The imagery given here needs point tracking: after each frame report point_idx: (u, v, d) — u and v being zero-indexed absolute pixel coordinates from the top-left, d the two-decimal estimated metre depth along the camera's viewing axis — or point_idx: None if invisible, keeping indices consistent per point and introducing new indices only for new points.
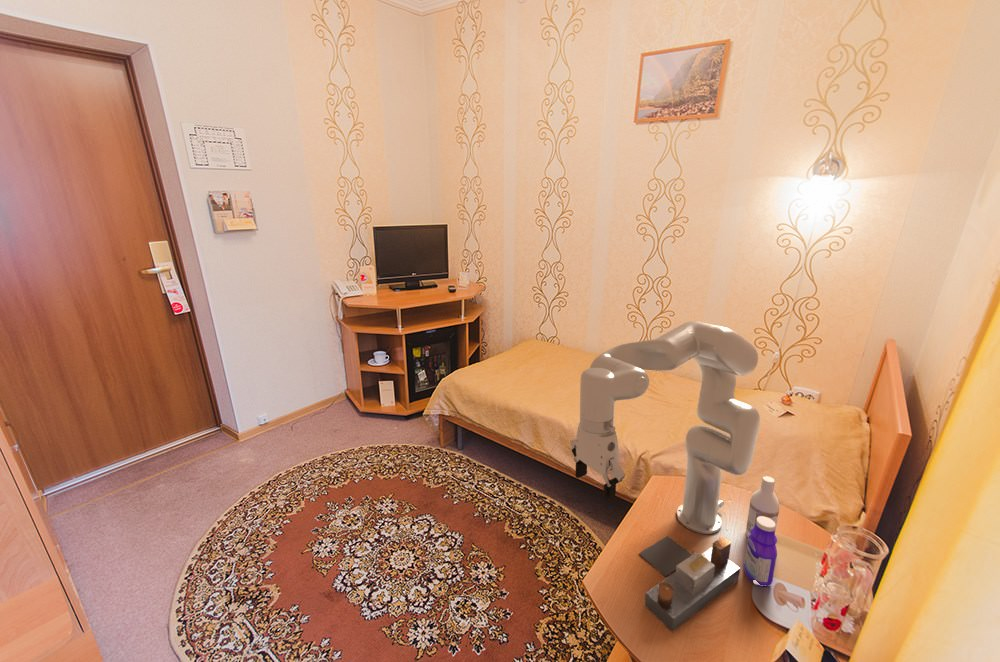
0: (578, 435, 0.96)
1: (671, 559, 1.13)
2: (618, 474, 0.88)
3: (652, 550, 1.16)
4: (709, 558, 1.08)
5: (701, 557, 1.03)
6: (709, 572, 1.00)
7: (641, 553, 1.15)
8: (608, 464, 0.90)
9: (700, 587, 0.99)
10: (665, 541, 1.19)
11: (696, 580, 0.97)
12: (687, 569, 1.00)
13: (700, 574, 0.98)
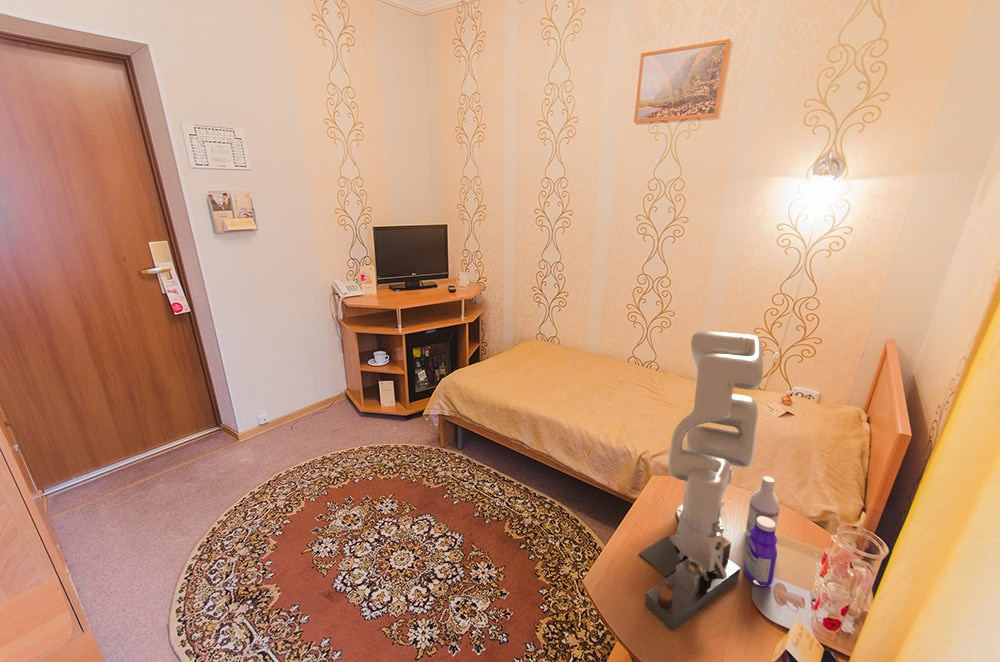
0: (680, 529, 1.00)
1: (671, 559, 1.13)
2: (720, 575, 0.94)
3: (652, 550, 1.16)
4: None
5: None
6: None
7: (641, 553, 1.15)
8: (714, 566, 0.95)
9: None
10: (665, 541, 1.19)
11: (696, 580, 0.97)
12: (687, 569, 1.00)
13: (700, 574, 0.98)
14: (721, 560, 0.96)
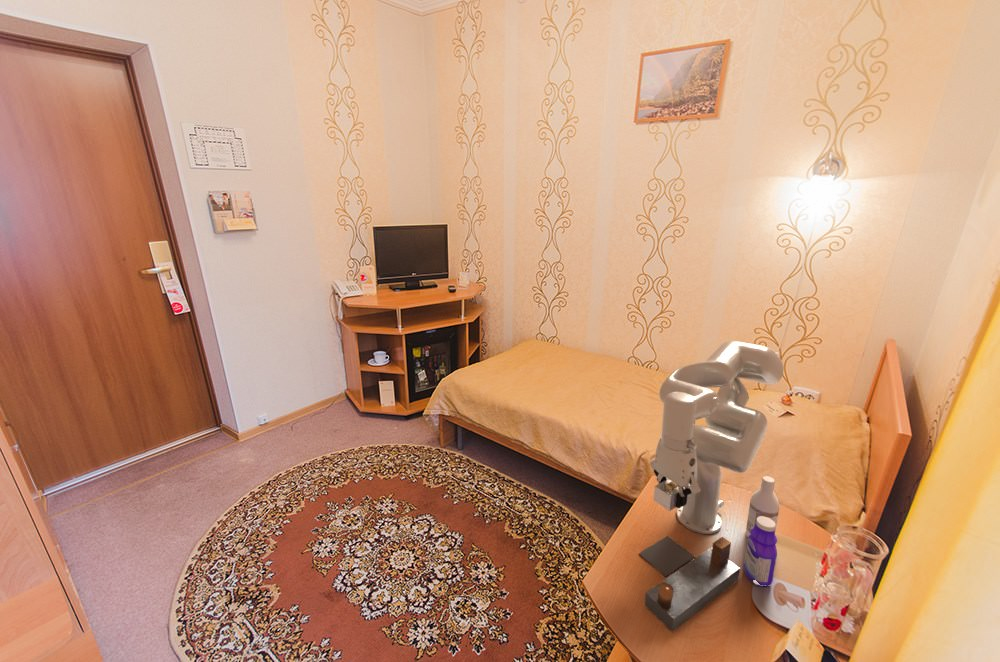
0: (658, 451, 1.07)
1: (671, 559, 1.13)
2: (694, 489, 1.01)
3: (652, 550, 1.16)
4: (709, 558, 1.08)
5: None
6: None
7: (641, 553, 1.15)
8: (688, 481, 1.02)
9: None
10: (665, 541, 1.19)
11: (672, 496, 1.05)
12: (665, 488, 1.07)
13: (676, 492, 1.05)
14: (695, 477, 1.03)
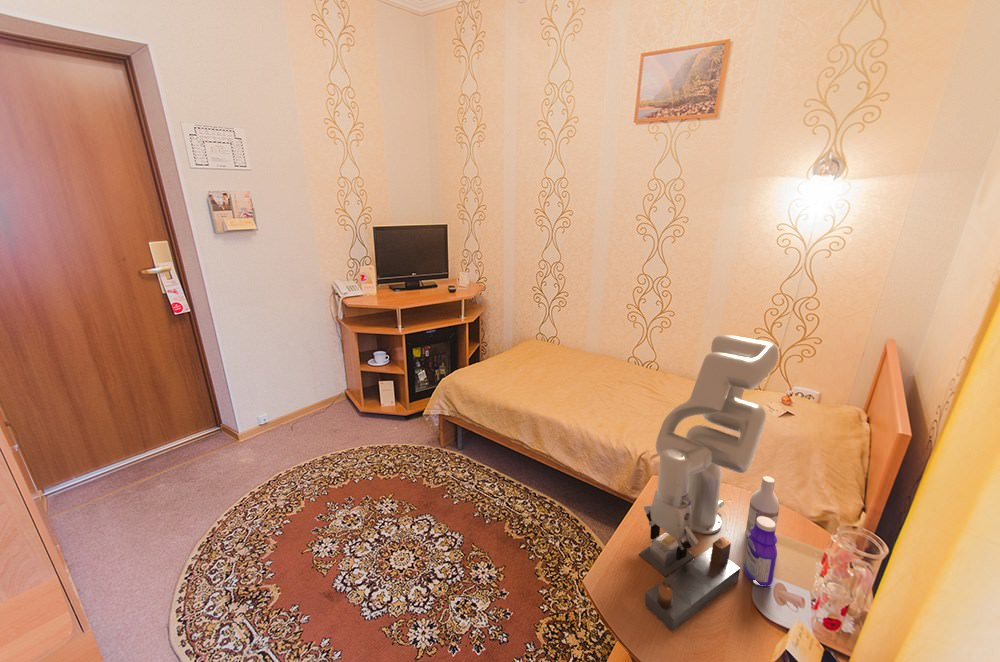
0: (654, 503, 1.12)
1: None
2: (692, 541, 1.05)
3: None
4: (709, 558, 1.08)
5: None
6: None
7: (641, 553, 1.15)
8: (684, 532, 1.06)
9: (671, 560, 1.11)
10: None
11: (667, 553, 1.10)
12: (660, 545, 1.12)
13: (671, 548, 1.11)
14: (690, 530, 1.08)
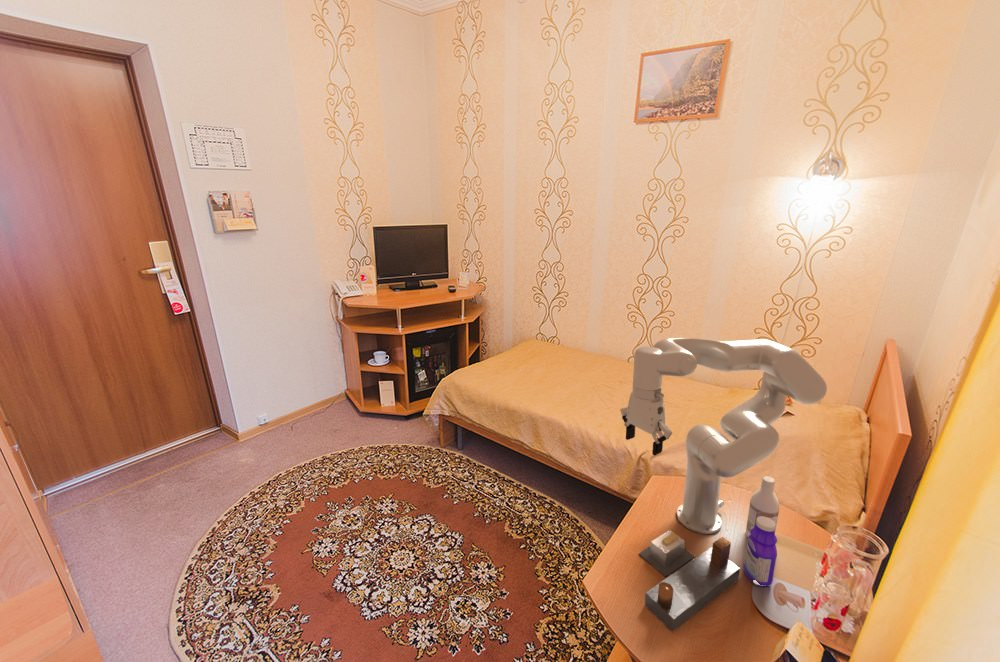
0: (630, 403, 1.16)
1: None
2: (666, 432, 1.09)
3: None
4: (709, 558, 1.08)
5: (673, 534, 1.15)
6: (679, 547, 1.12)
7: (641, 553, 1.15)
8: (657, 425, 1.10)
9: (671, 560, 1.11)
10: None
11: (667, 553, 1.10)
12: (660, 545, 1.12)
13: (671, 548, 1.11)
14: None
